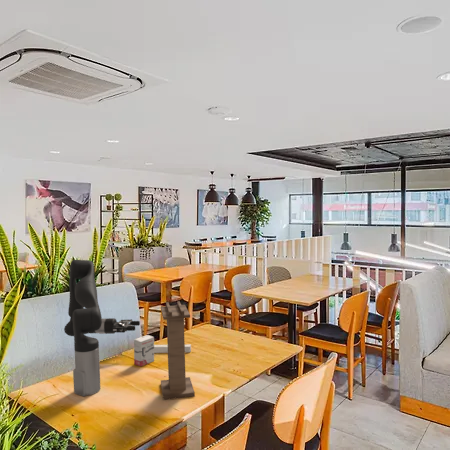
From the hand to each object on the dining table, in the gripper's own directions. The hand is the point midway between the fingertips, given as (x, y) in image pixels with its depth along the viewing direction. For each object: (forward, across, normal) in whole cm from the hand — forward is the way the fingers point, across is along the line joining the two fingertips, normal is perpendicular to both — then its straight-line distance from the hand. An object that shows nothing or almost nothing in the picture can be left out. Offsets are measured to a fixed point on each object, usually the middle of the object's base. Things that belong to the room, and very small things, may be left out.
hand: (137, 325), depth 198 cm
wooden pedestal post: (+26, -41, +14) cm, 51 cm away
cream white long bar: (+15, 0, +14) cm, 20 cm away
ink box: (+7, -14, +14) cm, 21 cm away
